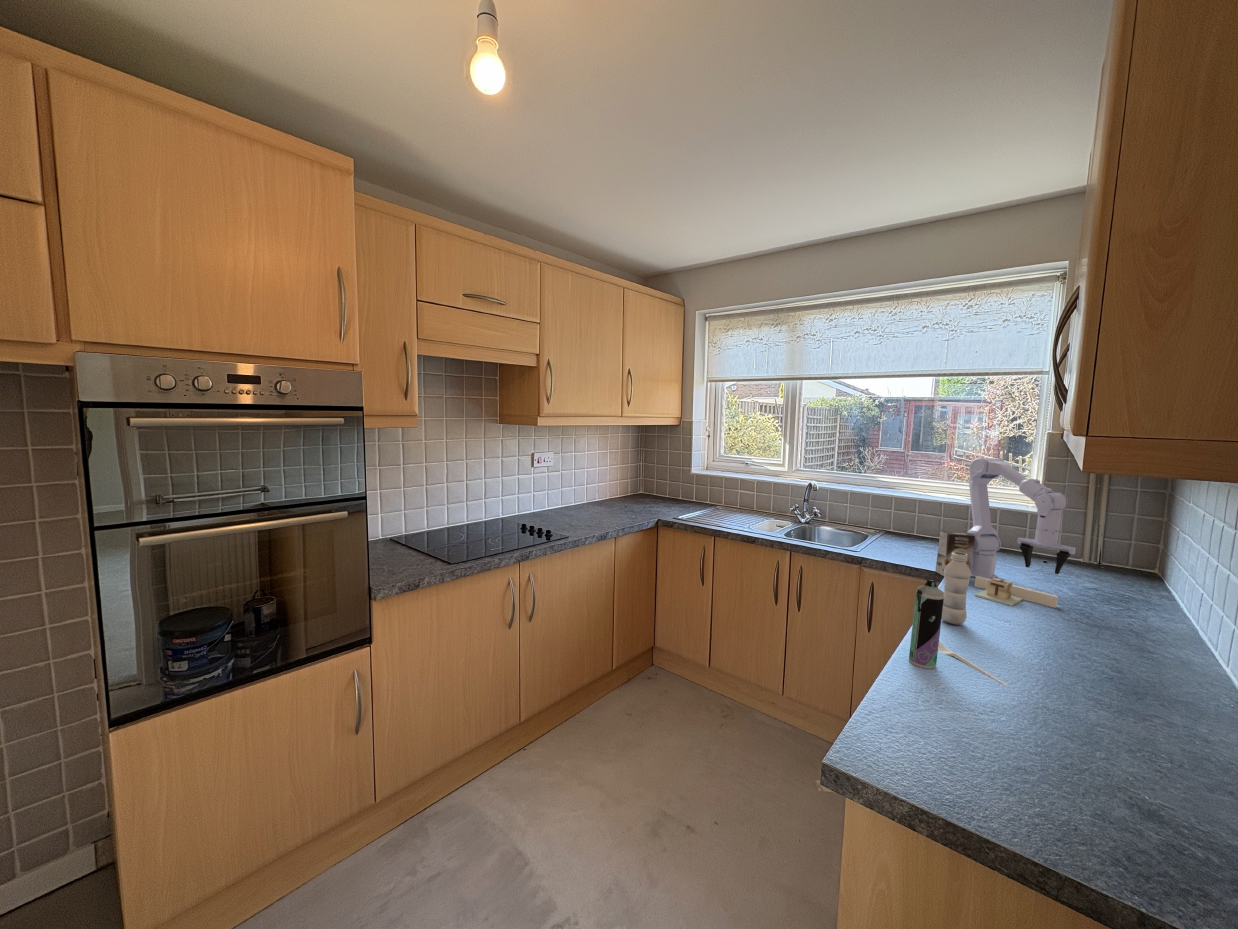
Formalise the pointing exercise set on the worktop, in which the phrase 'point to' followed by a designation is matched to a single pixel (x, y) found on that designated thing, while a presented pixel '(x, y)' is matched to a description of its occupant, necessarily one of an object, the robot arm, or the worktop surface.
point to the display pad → (1009, 601)
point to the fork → (965, 661)
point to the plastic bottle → (956, 589)
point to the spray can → (926, 625)
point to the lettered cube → (999, 588)
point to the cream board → (1023, 593)
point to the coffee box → (953, 548)
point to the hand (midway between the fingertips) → (1042, 570)
